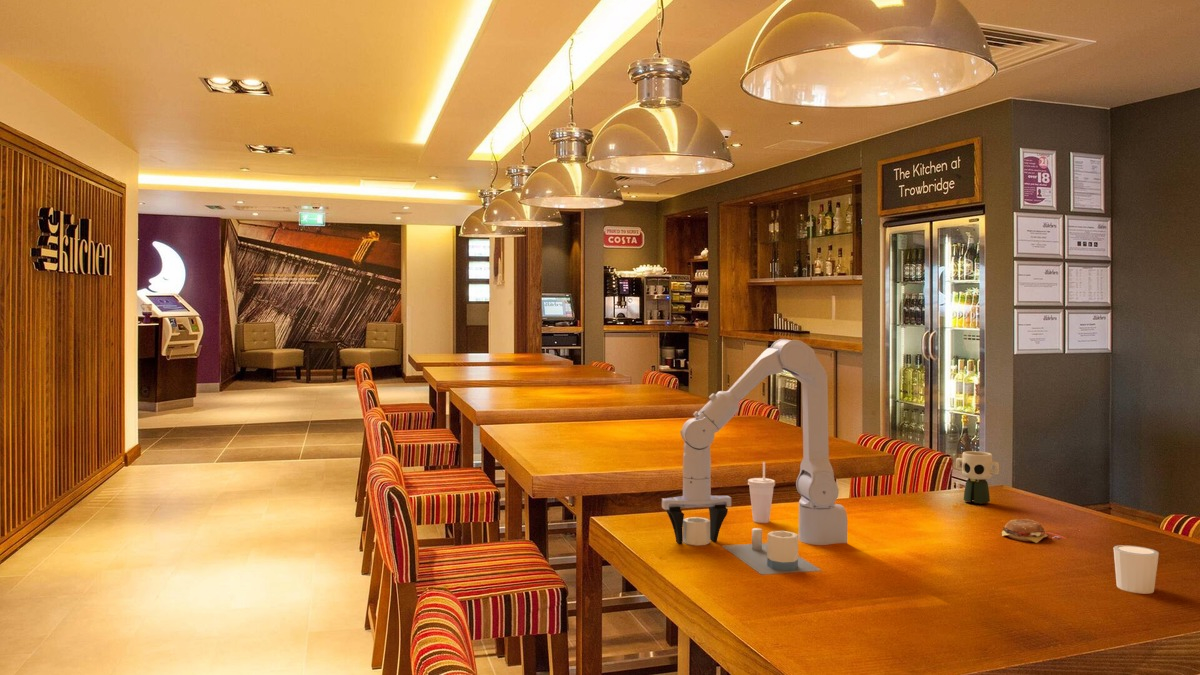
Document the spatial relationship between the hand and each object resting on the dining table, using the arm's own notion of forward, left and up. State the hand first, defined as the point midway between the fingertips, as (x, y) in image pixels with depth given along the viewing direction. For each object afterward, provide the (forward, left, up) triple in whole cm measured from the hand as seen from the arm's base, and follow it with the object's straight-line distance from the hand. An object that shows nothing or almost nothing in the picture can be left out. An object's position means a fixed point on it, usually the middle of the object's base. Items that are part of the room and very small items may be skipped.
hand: (696, 542), depth 178 cm
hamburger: (-76, +6, -2) cm, 76 cm away
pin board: (-10, +14, -1) cm, 17 cm away
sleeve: (0, 0, -1) cm, 1 cm away
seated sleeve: (-10, +20, 0) cm, 22 cm away
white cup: (-68, +41, -2) cm, 79 cm away
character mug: (-86, -27, -2) cm, 90 cm away
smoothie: (-23, -20, -2) cm, 31 cm away
